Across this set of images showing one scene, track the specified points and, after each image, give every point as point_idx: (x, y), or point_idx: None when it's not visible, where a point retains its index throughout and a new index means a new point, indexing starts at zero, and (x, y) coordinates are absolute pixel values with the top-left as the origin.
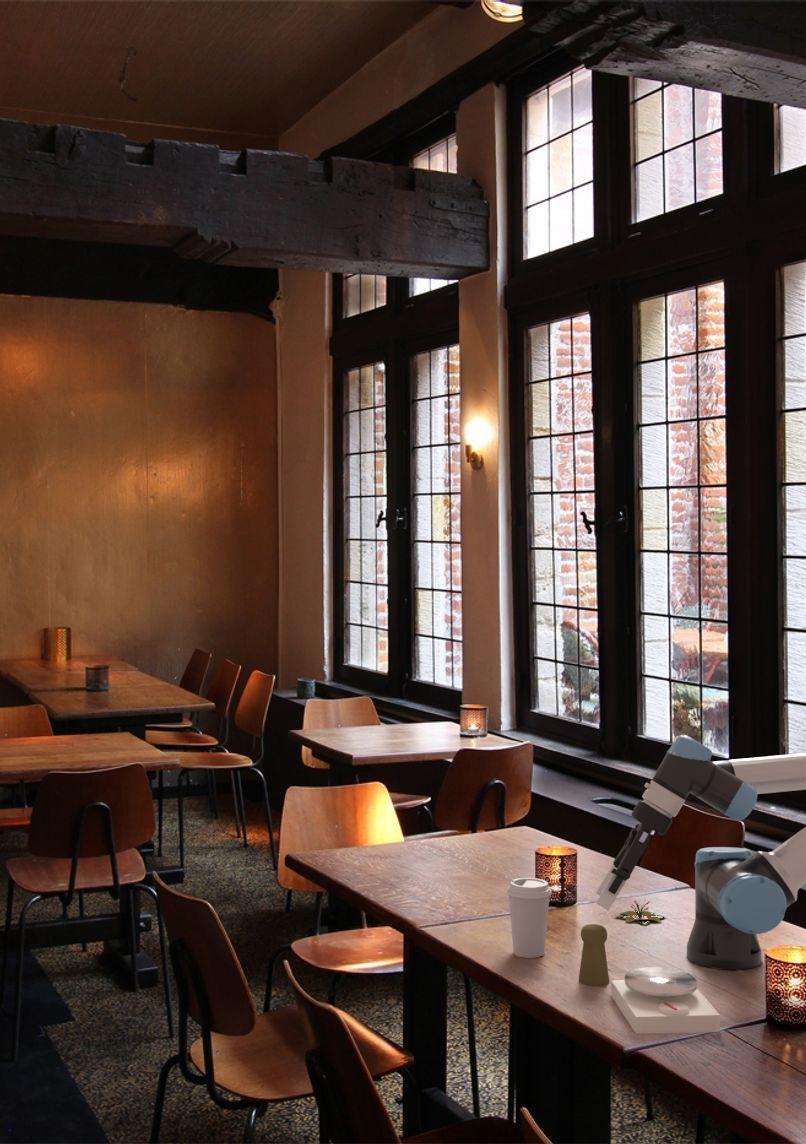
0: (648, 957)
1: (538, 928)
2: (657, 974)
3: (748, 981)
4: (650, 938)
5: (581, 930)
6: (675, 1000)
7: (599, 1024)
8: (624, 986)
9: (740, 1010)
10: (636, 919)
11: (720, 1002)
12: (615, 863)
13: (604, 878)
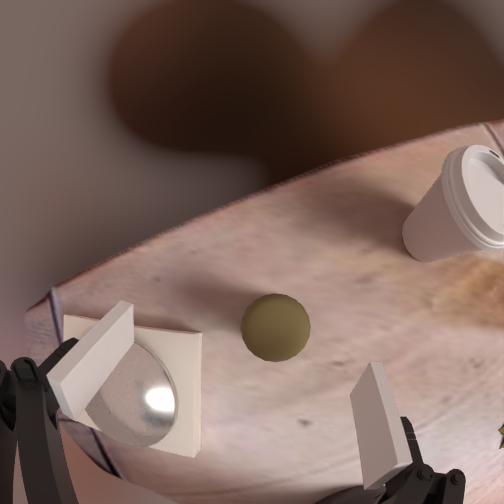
0: None
1: (424, 232)
2: (137, 399)
3: None
4: (460, 439)
5: (280, 295)
6: None
7: (105, 279)
8: (162, 346)
9: (142, 472)
10: None
11: (169, 467)
12: (406, 479)
13: (384, 409)
